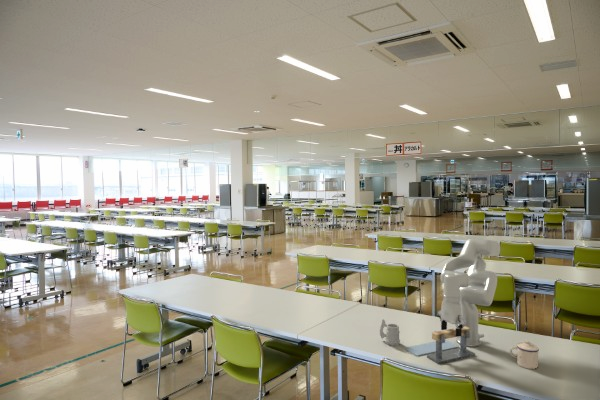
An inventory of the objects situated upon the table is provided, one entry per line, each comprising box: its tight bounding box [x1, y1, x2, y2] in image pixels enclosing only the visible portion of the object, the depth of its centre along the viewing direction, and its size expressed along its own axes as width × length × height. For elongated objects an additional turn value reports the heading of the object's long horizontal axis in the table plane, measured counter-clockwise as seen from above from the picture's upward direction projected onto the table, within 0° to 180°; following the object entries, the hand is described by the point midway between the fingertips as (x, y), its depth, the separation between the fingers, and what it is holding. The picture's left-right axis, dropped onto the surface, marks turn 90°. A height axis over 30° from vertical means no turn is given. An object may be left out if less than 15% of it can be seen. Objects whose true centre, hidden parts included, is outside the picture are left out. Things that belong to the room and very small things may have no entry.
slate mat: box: [403, 339, 460, 357], centre depth 204 cm, size 28×10×1 cm, turn 113°
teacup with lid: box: [509, 340, 540, 370], centre depth 185 cm, size 12×9×12 cm
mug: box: [379, 318, 401, 347], centre depth 211 cm, size 8×12×12 cm, turn 50°
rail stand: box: [426, 330, 476, 365], centre depth 193 cm, size 24×8×13 cm, turn 113°
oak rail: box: [431, 326, 470, 341], centre depth 193 cm, size 22×3×3 cm, turn 113°
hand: (451, 332), depth 192 cm, fingers open, 9 cm apart
